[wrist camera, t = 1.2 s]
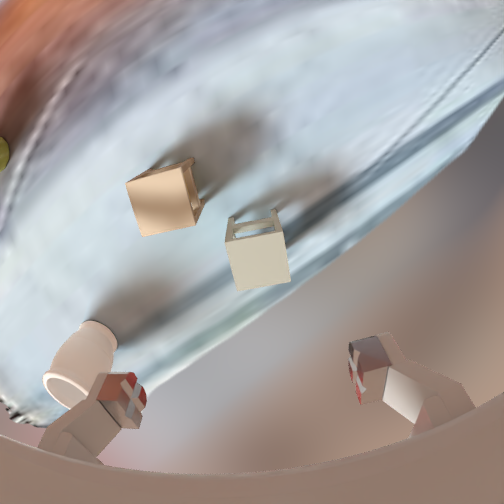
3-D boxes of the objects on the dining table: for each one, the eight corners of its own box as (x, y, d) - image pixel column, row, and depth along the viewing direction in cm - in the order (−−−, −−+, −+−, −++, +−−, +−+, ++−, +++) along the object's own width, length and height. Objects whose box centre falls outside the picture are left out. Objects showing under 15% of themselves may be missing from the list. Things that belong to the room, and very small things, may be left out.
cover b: (228, 218, 39) (224, 242, 32) (275, 208, 39) (282, 231, 32) (238, 259, 42) (237, 291, 35) (283, 251, 42) (290, 281, 34)
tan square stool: (147, 169, 36) (125, 183, 29) (193, 157, 36) (180, 167, 28) (160, 214, 39) (142, 237, 32) (204, 203, 39) (195, 225, 31)
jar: (74, 307, 46) (36, 363, 32) (124, 326, 47) (95, 390, 34) (76, 345, 50) (47, 400, 37) (121, 363, 52) (99, 422, 38)
